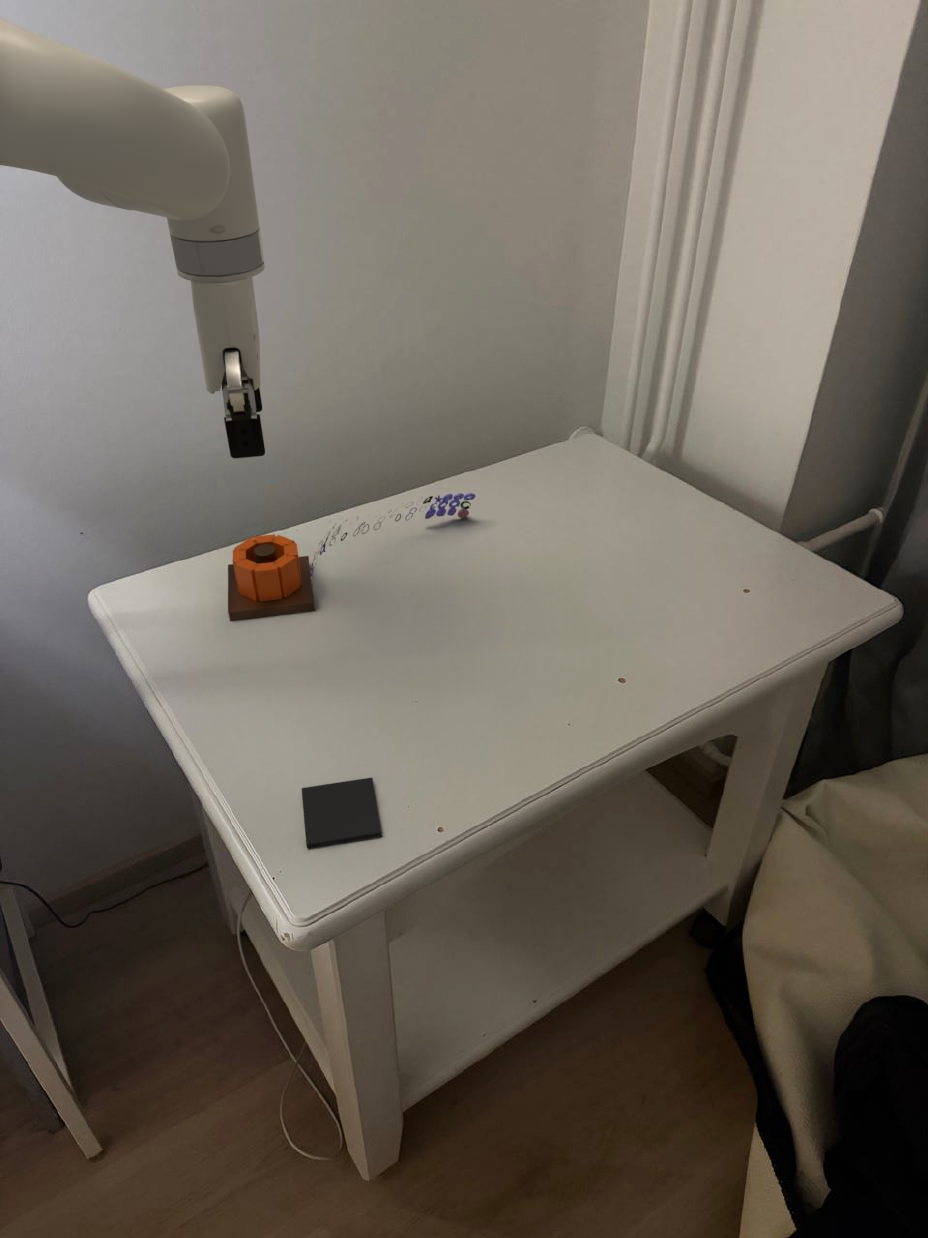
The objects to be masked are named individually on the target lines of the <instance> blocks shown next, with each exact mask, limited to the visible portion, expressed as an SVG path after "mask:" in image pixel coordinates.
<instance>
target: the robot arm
mask: <svg viewBox="0 0 928 1238" xmlns="http://www.w3.org/2000/svg"><path fill="white" fill-rule="evenodd" d="M0 166H4V167H9V168H15V169H22V170H26V171H27V170H28V171H33V172H37V173H41V174H46V175H50V176H54V177H56V178H57V179H58V180H59V182H60V183H61V184H63V186H65V188H67V189H68V190H69V191H71V192H72V193H73V194H75V195H77V196H78V197H80V198H82V199H84V200H86V201H89V202H92V203H95V204H97V205H98V204H99V205H103V206H107V207H112V208H117V209H121V210H125V211H126V210H127V211H135V212H140V213H144V214H149V215H154V216H158V217H163V218H166V220H167V225H168V231H169V237H170V242H171V247H172V252H173V257H174V263H175V267H176V273H177V275H178V276H179V277H180V278H182V279H184V280H186V281H190V289H191V297H192V298H191V299H192V305H193V313H194V319H195V325H196V333H197V338H198V342H199V348H200V349H199V350H200V355H201V362H202V368H203V373H204V380H205V381H204V382H205V388H206V391H207V392H208V393H209V394H211V395H213V394H215V393H216V392H220V391H222V398H223V399H222V400H223V406H224V407H223V408H224V415H225V416H224V417H223V421H224V426H225V432H226V438H227V443H228V449H229V455H230V458H232V459H245V458H256V457H257V458H258V457H263V456H265V454H266V447H265V442H264V433H263V428H262V426H263V425H262V420H261V414H259V413H261V412H262V411H263V403H262V395H261V388H260V387H261V344H260V343H261V342H260V341H261V340H260V330H259V328H260V327H259V320H258V310H257V303H256V296H255V288H254V287H255V286H254V280H253V278H254V277H255V276H257V275H259V274H261V273H262V272H264V271H265V267H266V266H265V258H264V252H263V251H264V250H263V243H262V236H261V228H260V221H259V212H258V205H257V198H256V190H255V181H254V176H253V174H254V173H253V168H252V167H253V166H252V159H251V152H250V144H249V136H248V127H247V121H246V115H245V109H244V106H243V103H242V101H241V99H240V97H239V96H238V95H237V93H236V92H234V91H232V90H231V89H228V88H226V87H223V86H217V85H205V84H193V85H191V84H189V85H179V86H178V85H177V86H171V87H166V88H165V87H164V88H162V87H160V86H158V85H156V84H154V83H152V82H150V81H148V80H146V79H144V78H142V77H141V76H139V75H137V74H136V73H132V72H130V71H128V70H127V69H124V68H122V67H120V66H118V65H116V64H113V63H110V62H108V61H106V60H104V59H101V58H98V57H96V56H94V55H91V54H89V53H87V52H84V51H82V50H79V49H76V48H73V47H71V46H69V45H66V44H63V43H61V42H59V41H56V40H53V39H52V38H48V37H46V36H43V35H41V34H39V33H36V32H35V31H31V30H30V29H27V28H24V27H22V26H20V25H18V24H16V23H14V22H12V21H9V20H6V19H5V18H3V17H0Z"/></svg>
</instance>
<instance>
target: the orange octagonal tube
mask: <svg viewBox="0 0 928 1238" xmlns="http://www.w3.org/2000/svg"><path fill="white" fill-rule="evenodd" d="M265 544H268V545H272V546H274V547H275V551H276V557H277V560H276V561H274V562H269V563H260V564H257V563H256V558H255V553H254V550H255V548H256V547H258V546H260V545H265ZM299 557H300V556H299V552H298V544H297V542H296V541H295V540H293V539H290V538H288V537H285V536H284V535H281V534H278V535H276V534H274V533H273V534H265V535H254V536H253V537H252V538H251V537H249V538H247V539H246V540H244V541H243V542H241V543H239V544H238V545H236V546H235V547H234V549H232V564H233V566H234V571H235V577H236V582H237V587H238V592H240V594H241V595H243V596H245V597H248V598H250V599H252V600H254V601H257V600H259V601H260V602H262V601H270V600H279V599H282V596H283V597H285V598H286V597H288V596H289V595H290V594H292V593H293V592H294V591H296V590H297V589H299V588H300V585H302V582H301V573H300V565H299Z"/></svg>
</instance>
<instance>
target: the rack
mask: <svg viewBox="0 0 928 1238" xmlns="http://www.w3.org/2000/svg"><path fill="white" fill-rule="evenodd" d="M254 553H255V558H256V563H257V564H260V563H269V562H274V561H276V560H277V557H276V551H275V547H274V546H272V545H268V544H265V545H260V546H258V547H256V548H255V550H254ZM309 556H310V555H304V556H298V557H299V565H300V573H301V582H302V585H300V588H299V589H297V590H296V591H294V592H293V593H292V594H290V595H289V596H288V597H286V598H285V597H283V596H282V599H279V600H270V601H262V602H260V601H259V600H257V601H254V600H252V599H250V598H248V597H245V596H243V595H241V594H240V592H238V587H237V582H236V577H235V571H234V566H233V563H231V564H230V563H229V564H227V614H228V620H229V621H230V622H231V621H239V620H249V619H255V618H257V619H258V618H265V617H266V618H267V617H272V616H273V617H274V616H281V615H291V614H298V613H306V612H307V613H308V612H315V611H316V604H315V597H314V589H313V581H312V576H311V574H310V572H311V566H310V565H311V564H310V559H309V558H310V557H309ZM306 569H307V570H306Z"/></svg>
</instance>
